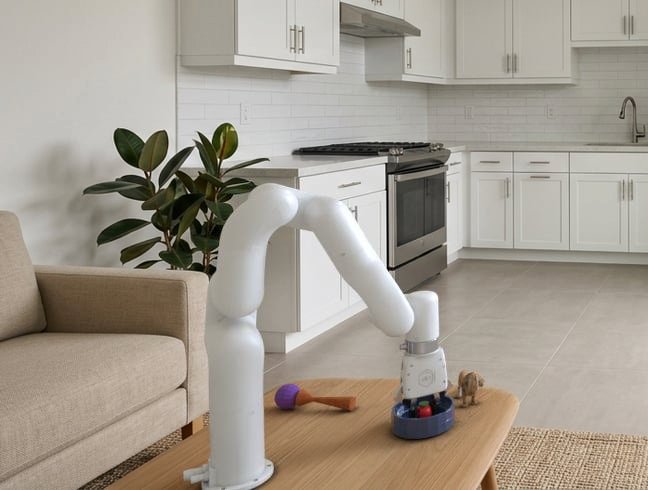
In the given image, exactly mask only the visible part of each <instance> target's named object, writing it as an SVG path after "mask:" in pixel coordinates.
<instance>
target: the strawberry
mask: <svg viewBox="0 0 648 490" xmlns="http://www.w3.org/2000/svg"><path fill="white" fill-rule="evenodd" d="M417 410H418V418H425V417H430V416H433V413H432V407H431V406H430V405H429V401H422V402H420V403H419V406H418V408H417Z"/></svg>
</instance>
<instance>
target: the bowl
mask: <svg viewBox="0 0 648 490" xmlns="http://www.w3.org/2000/svg"><path fill="white" fill-rule="evenodd" d="M431 400H432V396H431V395H427V396H423V397H419V398H417V401H416V408H418V406H419V403H420V402H422V401H429V405H430V402H431ZM455 405H456V404H455V399H454V398H453V397H452V396H450V395H448V394H445V395H444V396H443V398H442V399H441V400H440V403H439V414H437V415H434V416H430V417H425V418H409V408H408V407H407V406H405V405H404V404H402V403H399V402H395V404H394V405H393V406H391V411H390V413H391V415H390V418H391V419H390V420H391V422H390V423H391V432H392V433H393V434H394V435H396V436H397V437H399V438H403V439H414V440H415V439H417V440H418V439H427V438H431V437H435V436H438V435H440V434H443V433H445V432H447V431H448V430H450V429H451V428H452V427H453V425H454V424H455V423H456V415H455V413H456V412H455V411H456V410H455Z"/></svg>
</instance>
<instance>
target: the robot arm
mask: <svg viewBox="0 0 648 490" xmlns="http://www.w3.org/2000/svg"><path fill="white" fill-rule="evenodd" d="M281 227H288V228H292V229H297V230H303V231H307V232H312V233H313V234H314V236H315V237H316V239H317V241H318V242H319V244H320V246H321V247H322V248H323V250H324V251H325V253H326V254H327V256H328V258H329V259H330V261H331V262H332V264H333V266H334V267H335V269H336V271H337V273H338V274H339V275H340V276H341V278H342V279H343V280H344V281H345V283H346V284H347V285H348V286H349V287H351V288H352V289H353V290H354V291H355V293H356V294H357V295H358V296H359V297H360V298H361V300H362V301H363V303H364V304H365V305H366V307H367V317H368V320H369V321H370V323H371V324H373V325H374V327H376V328H377V330H379V331H381V333H383V334H384V335H385V336H387V337H390V338H400V337H403V336H405V339H404V342H403V343H400V344H399V351H403V353H402V357H401V365H400V375H399V386H398V387H397V390H396V391H395V393H394V395H393V397H392V399H393V400H394V402H395V403H397V402H399V403H402V404H404V405H405V406H407V407H408V408H409V418H418V410H417V408H416V401H417V398H419V397H423V396H427V395H431V396H432V400H431V402H430V406H431V407H432V413H433V416H434V415H437V414H439V403H440V400H441V399H442V398H443V396H444V395H447V393H448V392H449V391H450V390H451V389H453V387H454V385H453V383H452V382H451V380H450V379H449V378H448V373H447V363H446V356H445V352H444V349H443V348H444V347H442V346H440V317H439V316H440V315H439V313H440V311H439V309H440V308H439V295H438V294H437V292H435V291H432V290H418V291H413V292H410V293H404V292H403V291H402V289H401V288H400V287H399V285H398V283H397V282H396V281H395V279H394V278H393V277H392V275H391V273H390V272H389V271H388V269H387V268H386V266H385V264H384V262H383V261H382V260H381V258H380V256H379V255H378V254H377V252H376V250H375V249H374V247H373V246H372V244H371V242H370V241H369V240H368V238H367V236H366V235H365V233H364V231H363V230H362V228H361V226H360V225H359V223H358V221H357V219H356V218H355V216H354V214H353V213H352V211H351V210H350V209H349V207H348V206H347V205H346V204H345V203H344V202H343V201H341V200H339V199H337V198H333V197H331V196H327V195H322V194H318V193H314V192H308V191H305V190H301V189H298V188H294V187H291V186H290V187H289V186H286V185H283V184H279V183H276V182H275V183H273V182H266V183H262V184H260V185H257V186H256V187H254V188H253V189H252V190H251V191H250V193H249V194H248V195H247V199H246V200H245V201H244V202H242V203H241V204H240V205H238V206H237V207H236V208H235V209H234V210H233V212H232V213H231V214H230V215H229V216H228V218H227V219H226V221H225V223H224V224H223V227H222V230H221V233H220V237H219V243H218V244H219V245H218V250H217V251H218V252H217V260H216V270H215V272H214V273H213V274H212V275H211V277H210V279H209V282H208V284H207V285H208V286H207V289H206V290H207V291H206V303H205V304H206V305H205V319H204V320H205V321H204V336H203V337H204V346H205V350H206V355H207V364H208V365H207V366H208V417H209V419H208V423H209V427H208V428H209V457H208V459H207V460H208V461H207V463H203V464H202V466H200V467H195V468H189V469H186V470H183V471H182V472H183V473H182V474H183V482H187V481H190V484H196V483H199V482H201V490H252V489H254V488H257V487H259V486H260V485H262V484H263V483H265V482H266V481H268V480H269V479H270V478H271V477H272V475H273V473H274V470H275V469H274V466H275V465H274V463H273V462H272V461H271V460H269V459H267V458H266V456H265V455H266V454H265V453H266V451H265V446H266V445H265V408H264V407H265V406H264V405H265V404H264V403H265V401H264V399H265V398H264V368H265V367H264V365H265V344H264V341H263V337H262V335H261V333H260V330H259V329H258V328H257V315H258V309H259V307H260V306H261V304H262V303H263V300H264V297H265V275H266V273H265V272H266V259H267V258H266V257H267V251H268V250H267V249H268V244H269V240H270V238H271V236H272V235H273V234H274V233H275V232H276V231H277V230H278V229H279V228H281Z"/></svg>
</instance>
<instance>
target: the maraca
mask: <svg viewBox="0 0 648 490" xmlns="http://www.w3.org/2000/svg"><path fill="white" fill-rule="evenodd" d="M274 402H275V405H276V406H277V407H278V408H280V409H281V410H290V409H293V408H295V407H297V408H298V407H299V408H300V407H302V406H305V405H307V404H311V403H317V404H322V405H326V406H330V407H334V408H337V409H342V410H346V411H351V412H353V410H354V409H355V407H356V403H357V398H356V396H314V395H312V394H311V393H310V392H308V391H307V390H306V389H305V388H300V387H299V386H298V385H297V384H295V383H285V384H283V385H281V386H280V387H279V388H278V389H277V390H276V391H275V394H274Z"/></svg>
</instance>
